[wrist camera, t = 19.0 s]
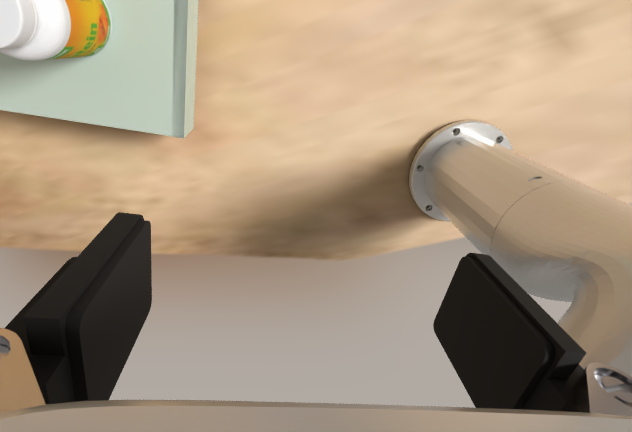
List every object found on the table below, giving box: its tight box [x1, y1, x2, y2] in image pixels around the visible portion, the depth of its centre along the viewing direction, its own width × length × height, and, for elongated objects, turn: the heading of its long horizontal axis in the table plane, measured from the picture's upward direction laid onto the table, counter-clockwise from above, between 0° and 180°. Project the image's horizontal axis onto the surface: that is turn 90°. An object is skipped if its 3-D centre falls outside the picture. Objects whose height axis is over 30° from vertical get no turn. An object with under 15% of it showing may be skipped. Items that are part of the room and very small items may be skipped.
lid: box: [0, 0, 199, 138], centre depth 28 cm, size 16×16×4 cm
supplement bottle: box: [0, 0, 112, 61], centre depth 22 cm, size 5×5×10 cm
